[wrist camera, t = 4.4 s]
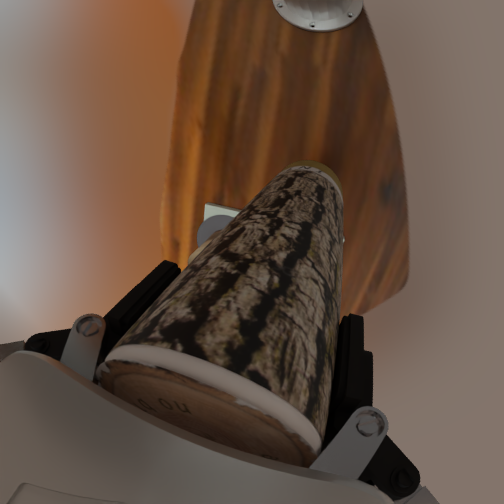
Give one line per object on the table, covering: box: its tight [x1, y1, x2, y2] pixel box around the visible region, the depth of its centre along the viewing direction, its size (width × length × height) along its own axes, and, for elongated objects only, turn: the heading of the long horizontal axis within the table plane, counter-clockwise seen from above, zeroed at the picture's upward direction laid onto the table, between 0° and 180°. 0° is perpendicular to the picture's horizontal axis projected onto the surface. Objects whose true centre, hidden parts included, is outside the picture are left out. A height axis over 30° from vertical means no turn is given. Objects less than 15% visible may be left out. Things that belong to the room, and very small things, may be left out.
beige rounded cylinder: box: [188, 230, 222, 265], centre depth 43 cm, size 5×5×8 cm
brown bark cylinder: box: [96, 160, 343, 468], centre depth 17 cm, size 7×7×25 cm
